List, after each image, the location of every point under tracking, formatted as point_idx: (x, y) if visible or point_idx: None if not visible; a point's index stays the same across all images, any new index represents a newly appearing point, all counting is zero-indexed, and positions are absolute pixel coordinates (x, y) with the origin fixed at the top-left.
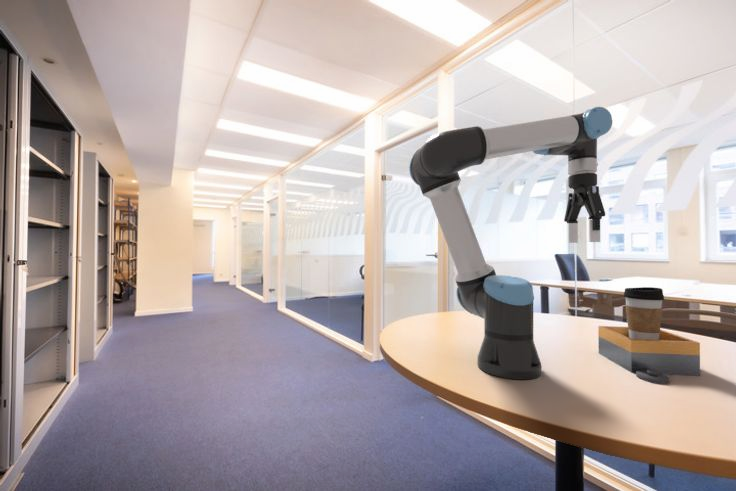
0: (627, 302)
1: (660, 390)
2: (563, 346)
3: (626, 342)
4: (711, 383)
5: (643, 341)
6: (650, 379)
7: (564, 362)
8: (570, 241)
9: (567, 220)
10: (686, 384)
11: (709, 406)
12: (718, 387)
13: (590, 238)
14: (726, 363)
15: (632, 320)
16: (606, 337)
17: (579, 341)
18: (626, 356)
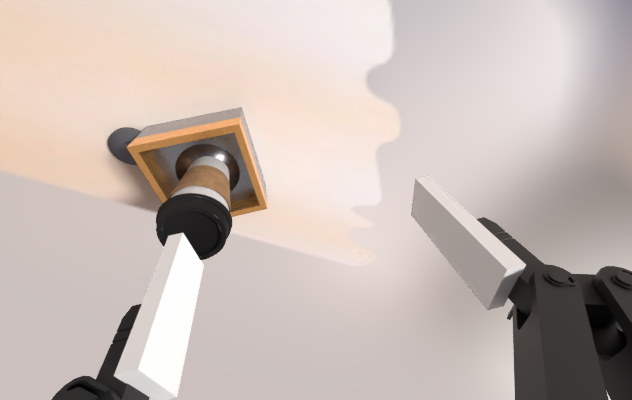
0: (187, 190)
1: (76, 138)
2: (265, 49)
3: (143, 140)
4: (161, 202)
5: (138, 164)
6: (109, 139)
7: (134, 17)
8: (417, 189)
9: (565, 286)
10: (135, 176)
11: (52, 171)
12: (148, 203)
13: (162, 251)
14: (262, 239)
15: (185, 176)
16: (211, 124)
17: (316, 94)
18: (152, 131)
